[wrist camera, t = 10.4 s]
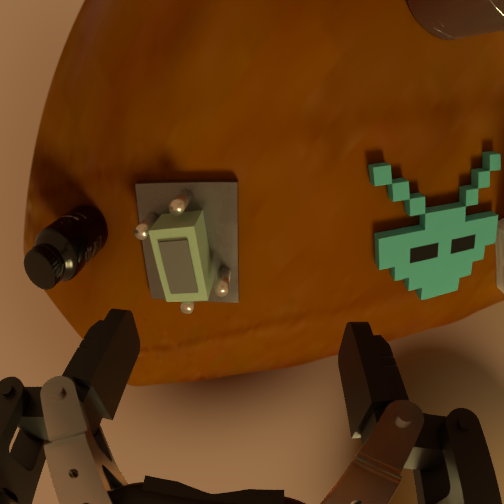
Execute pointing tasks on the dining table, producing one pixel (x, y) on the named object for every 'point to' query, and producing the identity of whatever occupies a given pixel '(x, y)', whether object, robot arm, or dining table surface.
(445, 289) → the alien figure
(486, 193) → the dining table surface
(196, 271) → the block
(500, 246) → the supplement box
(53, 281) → the supplement bottle
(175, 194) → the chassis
